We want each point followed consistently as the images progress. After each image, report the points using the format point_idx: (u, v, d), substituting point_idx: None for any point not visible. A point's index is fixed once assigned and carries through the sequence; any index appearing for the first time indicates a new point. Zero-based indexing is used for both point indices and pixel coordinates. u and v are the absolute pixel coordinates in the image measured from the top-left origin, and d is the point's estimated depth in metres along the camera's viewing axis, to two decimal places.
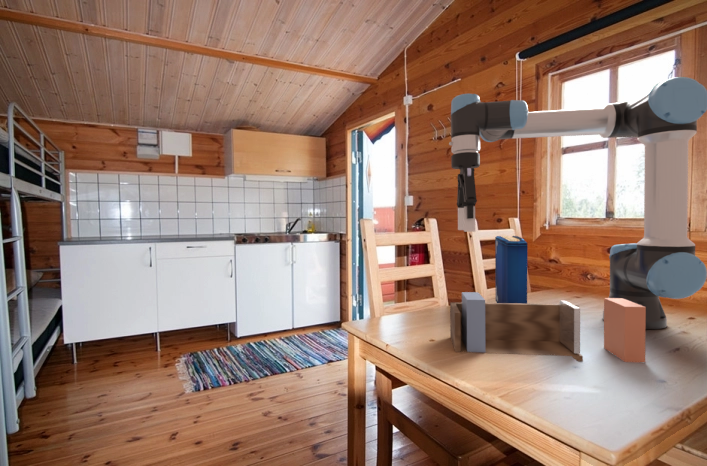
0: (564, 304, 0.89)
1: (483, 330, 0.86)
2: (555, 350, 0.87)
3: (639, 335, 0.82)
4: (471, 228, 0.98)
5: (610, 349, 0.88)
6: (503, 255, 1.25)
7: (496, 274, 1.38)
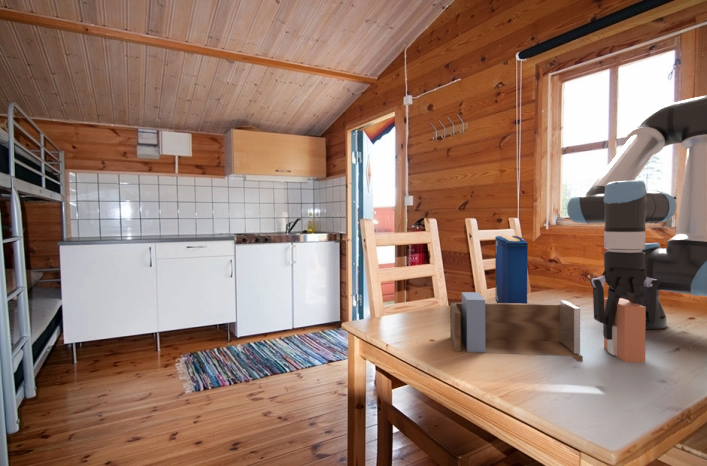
0: (564, 304, 0.89)
1: (483, 330, 0.86)
2: (555, 350, 0.87)
3: (639, 335, 0.82)
4: (611, 350, 0.86)
5: None
6: (503, 255, 1.25)
7: (496, 274, 1.38)
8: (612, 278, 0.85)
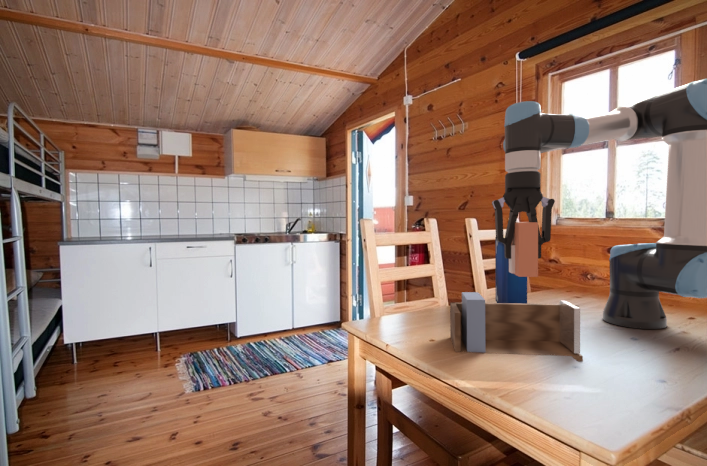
0: (564, 304, 0.89)
1: (483, 330, 0.86)
2: (555, 350, 0.87)
3: (532, 250, 0.84)
4: (510, 269, 0.89)
5: None
6: (503, 255, 1.25)
7: (496, 274, 1.38)
8: (510, 198, 0.88)
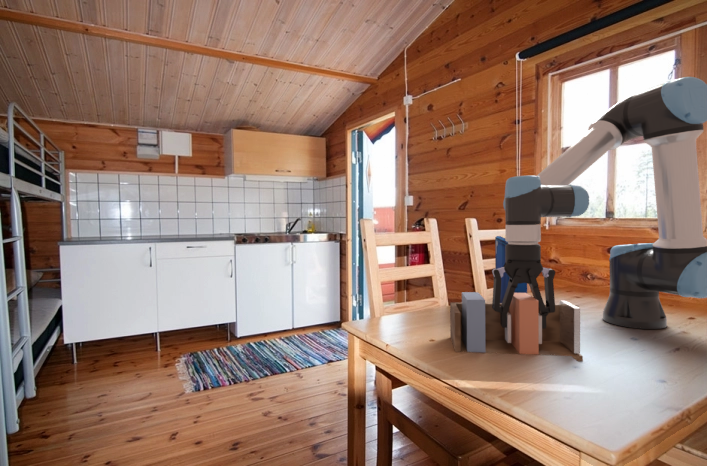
0: (564, 304, 0.89)
1: (483, 330, 0.86)
2: (555, 350, 0.87)
3: (533, 328, 0.85)
4: (506, 338, 0.90)
5: (512, 342, 0.91)
6: (503, 255, 1.25)
7: None
8: (510, 270, 0.88)
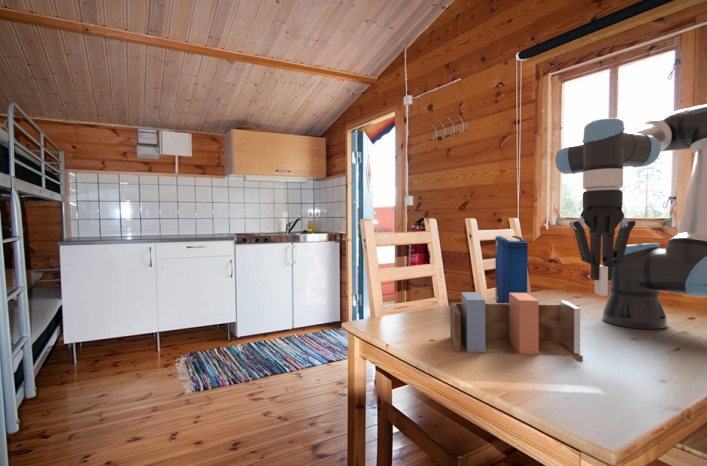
0: (564, 304, 0.89)
1: (483, 330, 0.86)
2: (555, 350, 0.87)
3: (533, 328, 0.85)
4: (598, 291, 0.86)
5: (512, 342, 0.91)
6: (503, 255, 1.25)
7: (496, 274, 1.38)
8: (590, 217, 0.85)
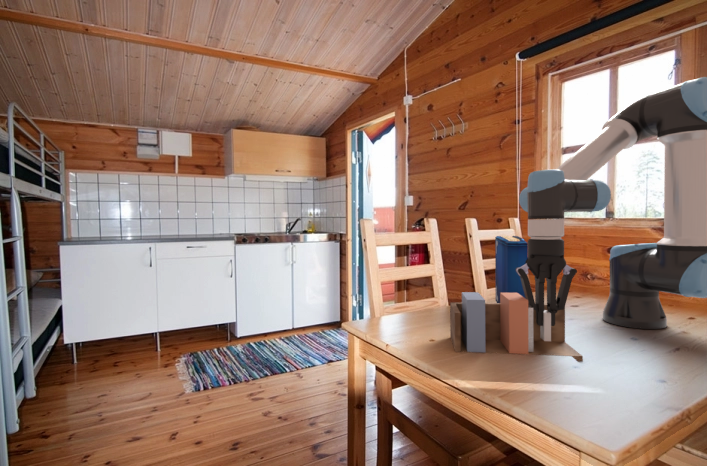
0: None
1: (483, 330, 0.86)
2: (555, 350, 0.87)
3: (522, 327, 0.85)
4: (542, 336, 0.88)
5: (503, 341, 0.92)
6: (503, 255, 1.25)
7: (496, 274, 1.38)
8: (534, 264, 0.87)
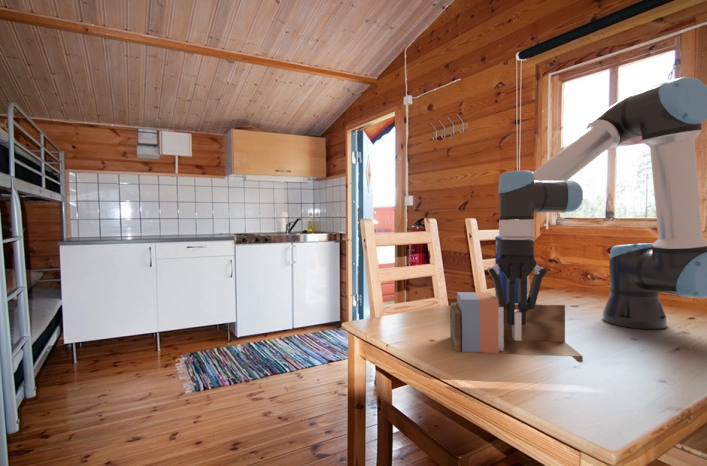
0: None
1: (478, 330, 0.87)
2: (555, 350, 0.87)
3: (493, 327, 0.86)
4: (513, 335, 0.89)
5: None
6: None
7: None
8: (504, 264, 0.88)
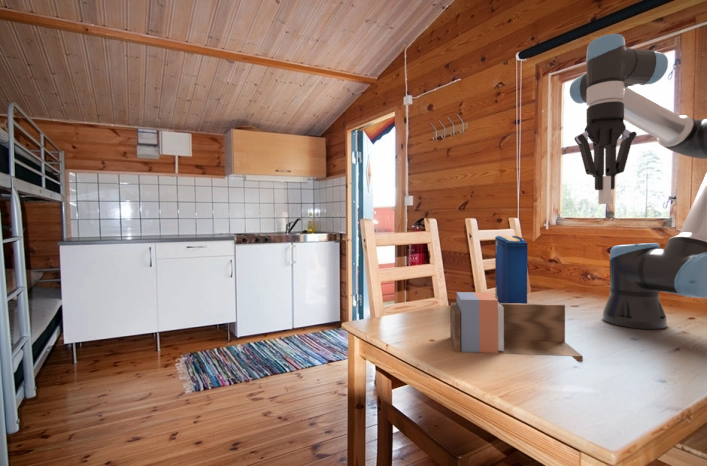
0: None
1: (477, 330, 0.87)
2: (555, 350, 0.87)
3: (492, 327, 0.86)
4: (602, 200, 0.92)
5: None
6: (503, 255, 1.25)
7: (496, 274, 1.38)
8: (594, 130, 0.91)
